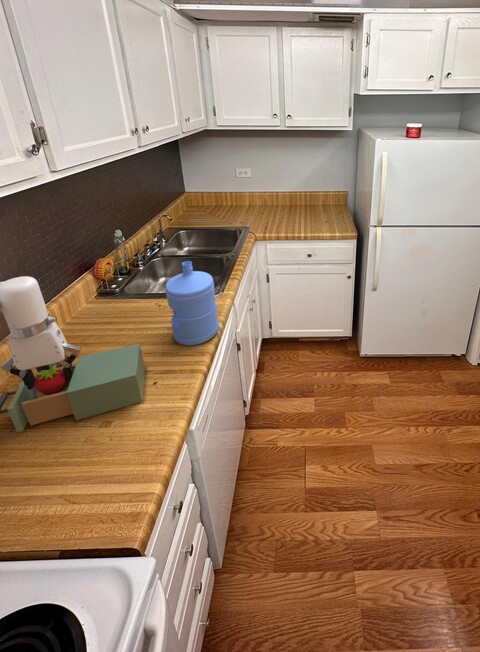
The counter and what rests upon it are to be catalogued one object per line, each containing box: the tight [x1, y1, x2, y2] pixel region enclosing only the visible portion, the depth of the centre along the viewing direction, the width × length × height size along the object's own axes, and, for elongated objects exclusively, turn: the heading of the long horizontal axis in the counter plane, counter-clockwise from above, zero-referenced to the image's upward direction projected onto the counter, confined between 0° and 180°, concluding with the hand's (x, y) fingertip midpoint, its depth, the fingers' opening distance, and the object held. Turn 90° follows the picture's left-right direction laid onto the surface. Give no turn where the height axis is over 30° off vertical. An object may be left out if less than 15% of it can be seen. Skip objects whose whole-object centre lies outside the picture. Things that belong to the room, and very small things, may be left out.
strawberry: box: [34, 364, 68, 395], centre depth 87 cm, size 6×8×10 cm
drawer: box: [0, 363, 77, 433], centre depth 88 cm, size 19×12×8 cm, turn 113°
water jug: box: [165, 260, 220, 346], centre depth 115 cm, size 16×16×28 cm
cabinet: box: [67, 342, 146, 421], centre depth 93 cm, size 16×14×10 cm
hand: (51, 380), depth 87 cm, fingers closed on strawberry, 7 cm apart
